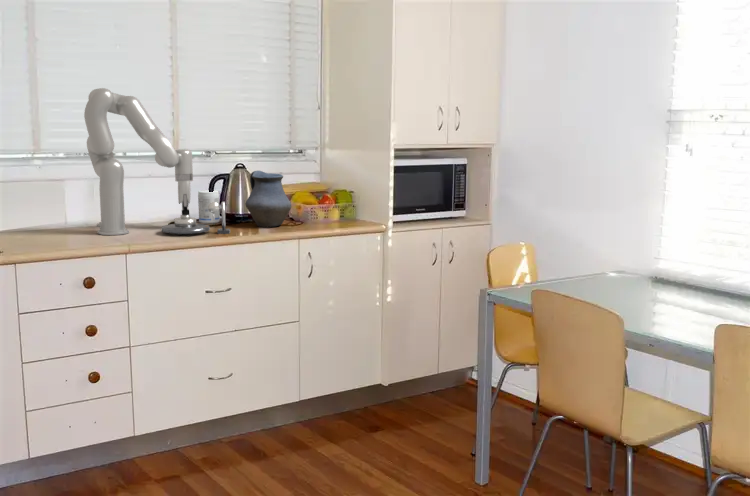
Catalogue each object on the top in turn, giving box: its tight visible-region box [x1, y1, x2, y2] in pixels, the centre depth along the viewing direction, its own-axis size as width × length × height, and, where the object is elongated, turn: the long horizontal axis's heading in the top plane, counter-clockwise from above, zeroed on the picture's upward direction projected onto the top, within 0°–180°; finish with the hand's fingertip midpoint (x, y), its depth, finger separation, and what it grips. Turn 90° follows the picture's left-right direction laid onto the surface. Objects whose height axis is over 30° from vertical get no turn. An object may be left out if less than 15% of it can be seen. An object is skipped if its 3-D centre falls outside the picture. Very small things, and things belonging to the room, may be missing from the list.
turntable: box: [160, 223, 211, 235], centre depth 326 cm, size 20×20×2 cm
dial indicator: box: [208, 201, 231, 235], centre depth 327 cm, size 9×5×14 cm, turn 97°
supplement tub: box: [197, 189, 221, 224], centre depth 357 cm, size 10×10×15 cm
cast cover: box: [174, 214, 197, 227], centre depth 329 cm, size 9×9×5 cm
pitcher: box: [244, 170, 292, 228], centre depth 348 cm, size 21×22×25 cm
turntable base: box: [176, 233, 198, 236], centre depth 326 cm, size 10×10×1 cm
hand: (185, 219), depth 338 cm, fingers closed
